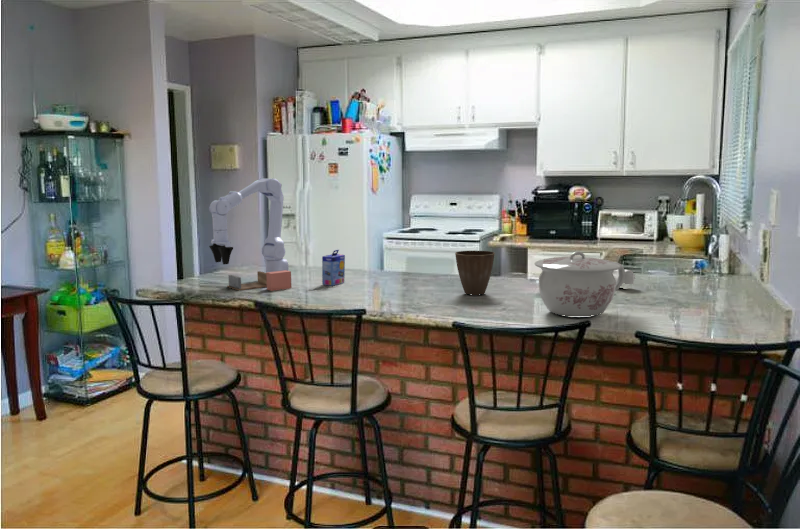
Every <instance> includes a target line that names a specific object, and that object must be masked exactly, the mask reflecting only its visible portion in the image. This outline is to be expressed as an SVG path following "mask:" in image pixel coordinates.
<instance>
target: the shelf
mask: <svg viewBox="0 0 800 529" xmlns="http://www.w3.org/2000/svg"><path fill="white" fill-rule="evenodd" d="M256 273H257V281H256V282H247V283H241V289H237V288H234V287H231V286H229V285H227V288H228V287H229V289H231V288H232V290H234V289H235V290H234V291H237V290H238V291H239V290H240V291H247V290H252V289H253V290H254V289H262V287H263V288H267V278H266V271H260V270H259V271H258V270H257V272H256ZM246 289H247V290H246Z"/></svg>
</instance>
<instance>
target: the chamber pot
mask: <svg viewBox="0 0 800 529" xmlns="http://www.w3.org/2000/svg"><path fill="white" fill-rule="evenodd" d="M534 265H535V266H536V267H538V268H540V269H541V272H540V274H539V275H538V288H539V289H538V290H539V296H540V299H541V300H542V302H543V303H544V306H545V307H546V308H547V310H548V311H549V312H550V313H553V314H554V313H555V315H557V314H559V315H565V316H591V315H597V314H600V313H602V314H603V313H604V312H605V311H606V310H607V309H608V307H609V306H610V305H611V303H612V302H613V300H614V296H615V293H616V292H617V291H618V290H619V288H620V286H621V285H622V284H623V282H624V279H625V270H626V269H625V268H624V266H623V265H622V264H621V263H620V262H619V261H618V262H614V261H612V260H608V259H603V258H600V257H599V258H597V257H590V256H586V254H584V253H583V252H581V251H574V252H572V254H570V256H557V257H556V256H555V257H548V258H544V259H543V258H542V259H539V260H537V261H535V262H534ZM624 269H625V270H624ZM614 270H618V272H619V276H618V279H617V282H616V280H615V278H614V276H613V274H612V273H613V271H614ZM559 315H558V316H559ZM600 315H601V314H600ZM597 316H598V315H597Z"/></svg>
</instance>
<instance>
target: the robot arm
mask: <svg viewBox="0 0 800 529" xmlns="http://www.w3.org/2000/svg"><path fill="white" fill-rule="evenodd" d="M255 193H260V194H262V195H264V196H266V198H267V199H268V200H269V201H270V205H269V214H268V215H269V218H268V232H267V237H266V238H265V239H264V241H263V245H262V248H261V254H262V256H263V257H264V260H265V273H267V272H275V271H284V270H287V271H290V270H289V262H288V260H287V258H284V257H285V255H286V248H285V242H284V240H283V239H282V236H281V235H282V224H283V223H282V222H283V213H284V212H283V211H284V201H285V200H284V199H285V198H284V194H283V190H282V183H281V182H280V181H279V180H278V179H277V178H275V177H273V178H272V177H271V178H259V179H258V180H254V181H253V182H252V183H250V184H249V185H247V186H245V187H243V188H242V189H241V190H239V191H235V190H234V191H233V190H230V191H229V192H228V194H226V195H223V196H220V197H219V198H218V200H217V199H215V200H212V202H211V203H210V204H209V207H208V210H209V213H210V214H211V218H212V234H213V235H212V236H213V239H212V238H211V241H210V245H209V249H210V250H211V252H212V255H213V258H214V262H215V263H222V265H229V264H230V260H231V259H230V258H231V254H232V252H233V250H234V246H232V244H231V241H230V240H229V233H228V232H229V231H228V214H229V212H230V210H232V209H234V208H235V207H237V206H239V205H241V204H242V202H243V199H245V198H247V197H249V196H251V195H253V194H255Z"/></svg>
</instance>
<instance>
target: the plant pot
mask: <svg viewBox="0 0 800 529" xmlns="http://www.w3.org/2000/svg"><path fill="white" fill-rule="evenodd" d="M495 253H496V252H493V251H488V250H461V251H455V252H454V255H455V262H456V268H457V272H458V276H459V281H460V283H461V285H462V288H463V291H464V294H465V293H466V294H472V295H477V296H480V295H479V294H484V293H486V292H487V291H486V290H487V288H488V285H489V282H490V278H491V276H492V271H493V266H494V259H495ZM466 294H465V295H466ZM472 295H471V296H472ZM484 295H485V294H484Z"/></svg>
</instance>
